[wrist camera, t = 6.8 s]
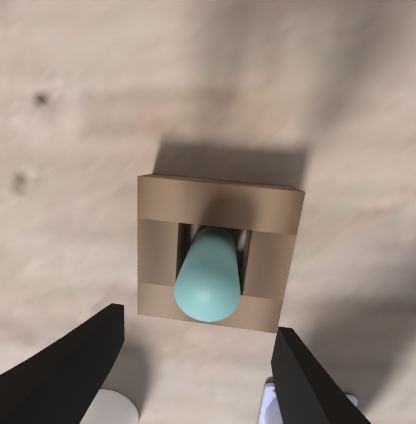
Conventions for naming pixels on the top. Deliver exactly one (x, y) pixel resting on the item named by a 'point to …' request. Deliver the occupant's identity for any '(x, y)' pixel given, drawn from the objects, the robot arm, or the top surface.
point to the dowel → (209, 277)
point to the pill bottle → (110, 409)
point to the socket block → (219, 217)
